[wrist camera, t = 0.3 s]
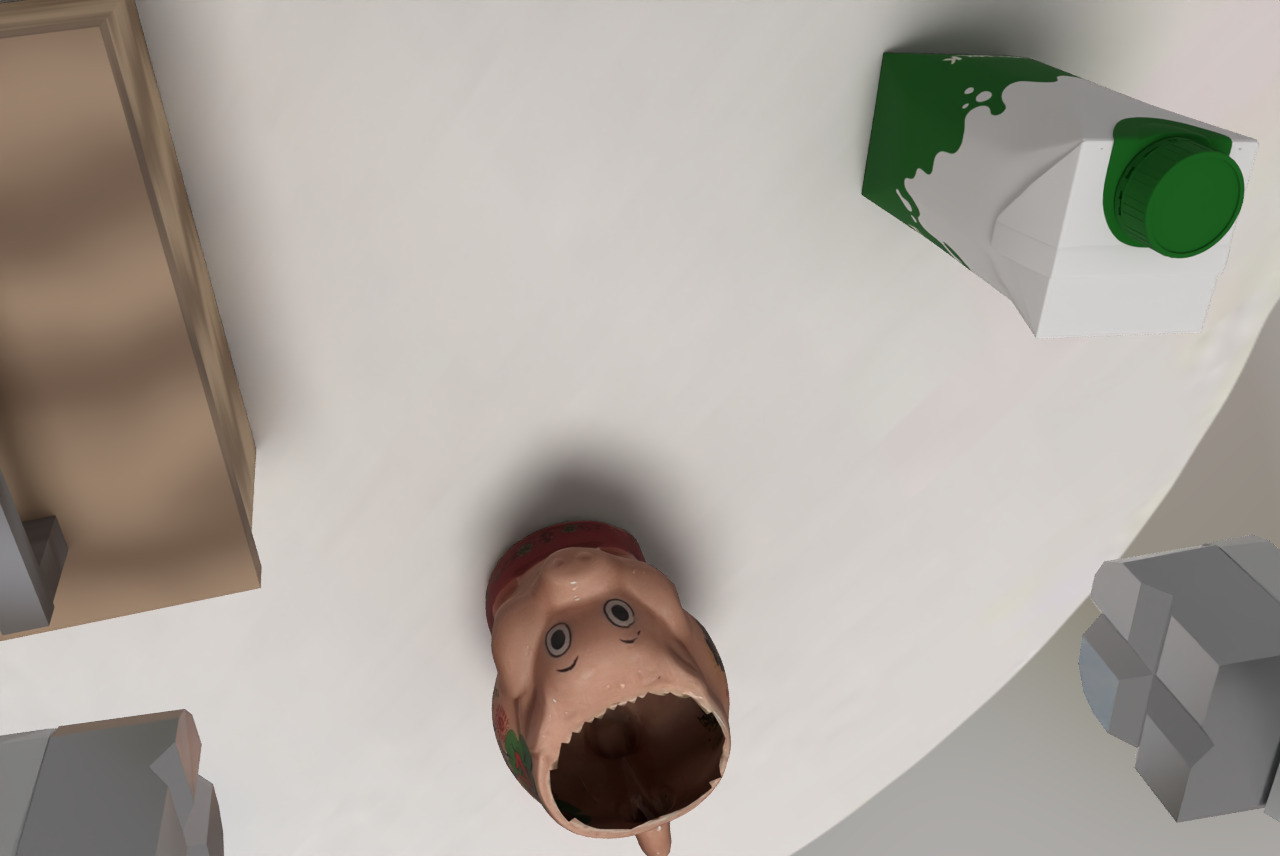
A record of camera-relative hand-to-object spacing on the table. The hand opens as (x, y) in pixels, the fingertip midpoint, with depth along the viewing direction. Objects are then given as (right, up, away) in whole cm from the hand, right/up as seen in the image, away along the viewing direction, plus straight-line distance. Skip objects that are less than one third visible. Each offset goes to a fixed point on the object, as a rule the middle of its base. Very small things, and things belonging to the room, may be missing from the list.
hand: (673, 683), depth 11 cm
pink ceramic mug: (-4, -8, +59) cm, 60 cm away
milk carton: (+14, +18, +51) cm, 56 cm away
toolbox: (-30, +9, +43) cm, 53 cm away
